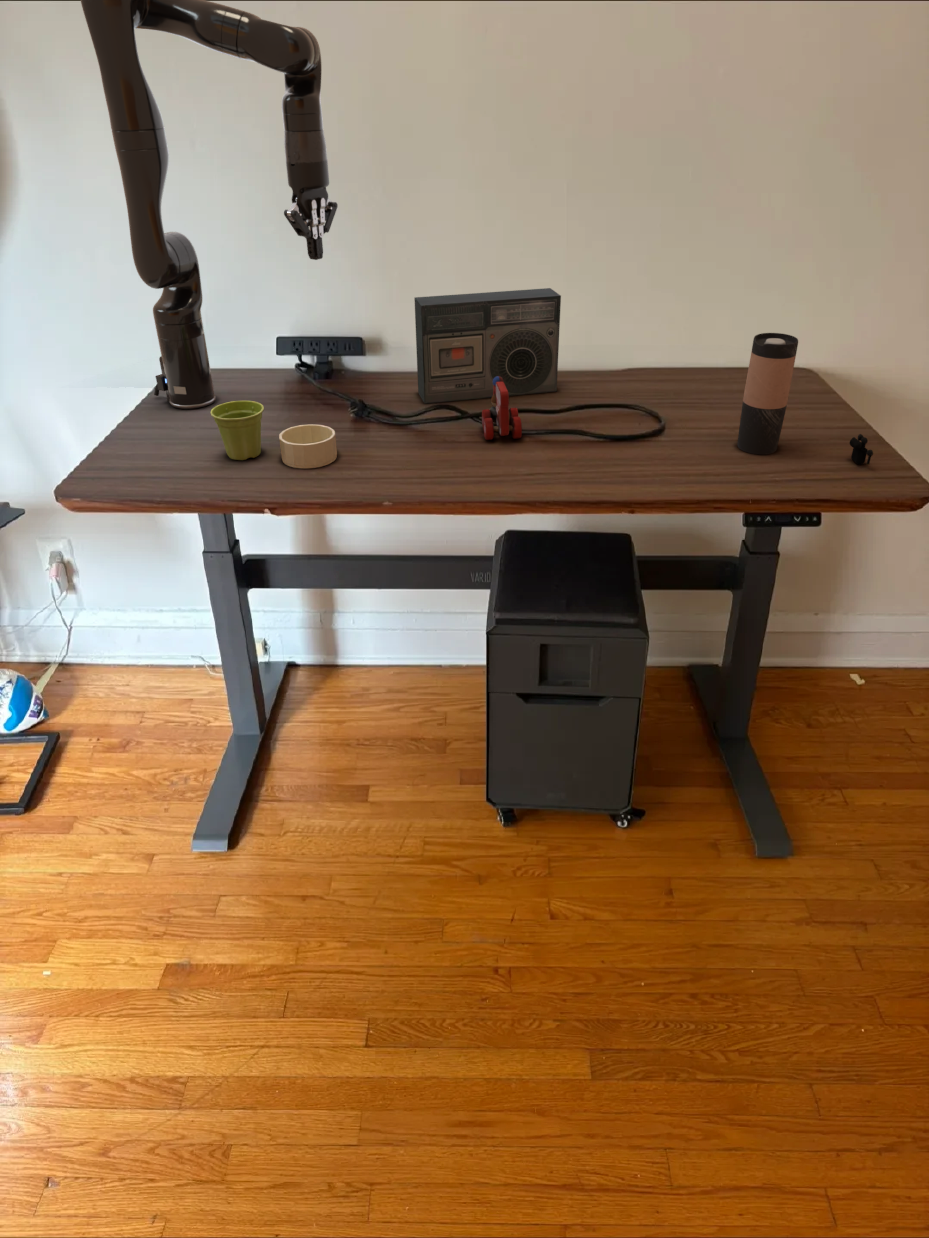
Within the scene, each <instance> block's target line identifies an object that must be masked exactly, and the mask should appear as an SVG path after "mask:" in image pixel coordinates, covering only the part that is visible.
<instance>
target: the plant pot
mask: <svg viewBox="0 0 929 1238" xmlns="http://www.w3.org/2000/svg"><path fill="white" fill-rule="evenodd" d="M264 410H265V407H264V405H263V404H262V403H260V402H258V401H253V400H231V401H228V402H223V403H220V404H218V405H215V406H214V407H213V408H212V409H211V410H210V412H209V413H210V415H211V417H212V418H213V419H214V422H215V424H216V426H217V428H218V431H219V434H220V437H221V440H222V443H223V447H224V449H225V452H226V455H227V456H228V458H229V459H231V460H234V461H246V460H248V459H249V458H252V459H254V458H257V457H259V456H260V455H261V452H262V419H263V412H264Z"/></svg>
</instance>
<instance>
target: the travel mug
mask: <svg viewBox="0 0 929 1238" xmlns="http://www.w3.org/2000/svg"><path fill="white" fill-rule="evenodd" d="M798 346H799V338H798V337H796V336H793V335H791V334H786V333H780V332H763V333H762V332H761V333H758V334H756V335H754V337H753V340H752V345H751V352H750V358H749V363H748V369H747V375H746V381H745V385H744V386H745V387H744V392H743V397H742V405H741V413H740V420H739V428H738V435H737V445H736V446H737V448H738V449H739V450H740V451H742V452H745V453H748V454H752V455H753V454H754V455H770V454H773V453H775V452H777V449H778V446H779V442H780V437H781V432H782V429H783V424H784V419H785V415H786V410H787V407H788V403H789V395H790V391H791V385H792V379H793V374H794V368H795V363H796V357H797V353H798V352H797V351H798Z"/></svg>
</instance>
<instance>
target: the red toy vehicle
mask: <svg viewBox="0 0 929 1238" xmlns="http://www.w3.org/2000/svg"><path fill="white" fill-rule="evenodd" d="M493 385H494V386H493V396H492V398H490V403H491V405H492V406H491V407H490V408H486V409H485V408H484V409H482V410H481V425H482V430H483V436H484V439H485V440H486V441H492V440H494V437H495V433H496V432H498V435H500V436H501V437H504V436H509V434H510V431H511V437H512V439H514V440H515V439H516V440H518V439H519V440H520V439H521V438H522V434H523V425H522V419H521V417H520V416H519V410H518V408H517V407H509V405H510V396H509V393H508V390H507V388H506V386H505V384H504V382H503V379H502V377H500V376H496V377H495V378H494V379H493ZM494 423H495V425H494Z"/></svg>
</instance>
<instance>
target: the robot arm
mask: <svg viewBox="0 0 929 1238" xmlns="http://www.w3.org/2000/svg"><path fill="white" fill-rule="evenodd" d="M80 4H81V8H82V11H83V15H84V19H85V22H86V25H87V29H88V32H89V35H90V38H91V39H90V40H91V41H92V45H93V49H94V52H95V56H96V60H97V64H98V67H99V68H98V69H99V72H100V77H101V83H102V89H103V94H104V98H105V102H106V107H107V113H108V119H109V124H110V130H111V133H112V139H113V140H112V141H113V144H114V149H115V153H116V157H117V158H116V159H117V162H118V166H119V171H120V175H121V176H120V177H121V181H122V186H123V187H122V188H123V192H124V198H125V203H126V209H127V210H126V211H127V219H128V227H129V236H130V246H131V252H132V260H133V264H134V267H135V269H136V272H137V274H138V276H139V277H140V279H141V280H142V282H143V283H144V284H145V285H146V286H148V287H149V288H151V289H155V290H160V289H162V292H161V295H160V296H159V299H158V300H157V301H156V302H155V303H154V304H153V306H152V315H153V320H154V325H155V330H156V335H157V340H158V345H159V350H160V355H161V356H159V358H158V360H159V365H160V370H161V374H158V375H155V380H156V385H155V387H154V393H153V395H154V396H155V397H159V395H160V391H161V392H165V396H166V401H167V403H169V404H170V406H171V407H174V408H177V409H185V410H189V409H199V408H203V407H206V406H207V407H208V406H209V405H212V404H214V403H215V402H216V394H215V390H214V389H215V388H214V384H213V383H214V382H213V377H212V371H211V365H210V360H209V359H210V358H209V354H208V347H207V341H206V335H205V330H204V323H203V317H202V306H203V289H202V279H201V272H200V265H199V259H198V255H197V252H196V250H195V247H194V245H193V243H192V242H191V240H190V239H189V238H188V237H187V236H186V235H185V234H183V233H182V232H178V231H168V232H167V231H166V232H165V230H164V224H163V217H162V200H163V194H164V190H165V186H166V181H167V178H168V172H169V166H170V153H169V152H170V151H169V146H168V139H167V134H166V133H167V132H166V129H165V123H164V119H163V115H162V112H161V109H160V107H159V104H158V102H157V99H156V97H155V95H154V93H153V91H152V89H151V86H150V84H149V82H148V80H147V78H146V75H145V73H144V70H143V67H142V63H141V61H140V56H139V51H138V46H137V45H138V43H137V39H136V31H135V30H136V29H137V30H145V31H146V30H147V31H157V32H162V33H167V34H171V35H174V36H177V37H180V38H183V39H185V40H188V41H191V42H192V43H195V44H197V45H199V46H201V47H204V48H206V49H208V50H212V51H214V52H217V53H220V54H222V55H223V54H224V55H227V56H230V57H233V58H236V59H239V60H244V61H248V62H254V63H256V64H259V65H260V66H263V67H266V68H268V69H271V70H273V71H276V72H278V73H281V74H283V76H284V79H283V80H284V94H283V95H282V97H281V115H282V124H283V146H284V147H283V148H284V156H285V166H286V167H285V168H286V176H287V184H288V185H287V186H288V187H289V188H291V191H292V195H291V203H292V204H291V205H290V207H289V208H288V209H285V210H284V211H283V215H284V217H285V219H286V220H287V221H288V223H289V224H290V226H291V227H292V229H293V230H294V232H295V233H296V235H297V236H299V237H303V238H305V240H306V249H307V256H308V258H309V259H310V260H314V261H318V260H322V259H323V257H324V245H323V237H324V235H325V234H326V233H329V232H330V230H331V227H332V223H333V221H334V218H335V216H336V213H337V209H338V203H337V202H336V201H332V200H331V199H330V198H329V192H328V190H327V187H329V185H330V176H329V175H330V174H329V163H328V150H327V141H326V137H325V132H324V131H325V130H324V119H323V108H322V102H321V96H322V95H321V94H322V93H321V92H322V53H321V48H320V47H321V46H320V43H319V41H318V40H317V37H316V36H315V35H314V33H312V31H310V30H309V29H307V28H305V27H301V26H289V25H286V24H283V23H282V24H280V23H278V22H274V21H271V20H266V19H263V18H261V17H259V16H258V15H256V14H253V13H251V12H248V11H245V10H241V9H239V8H235V7H232V6H229V5H225V4H221V3H218V2H213V1H209V0H80Z"/></svg>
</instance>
